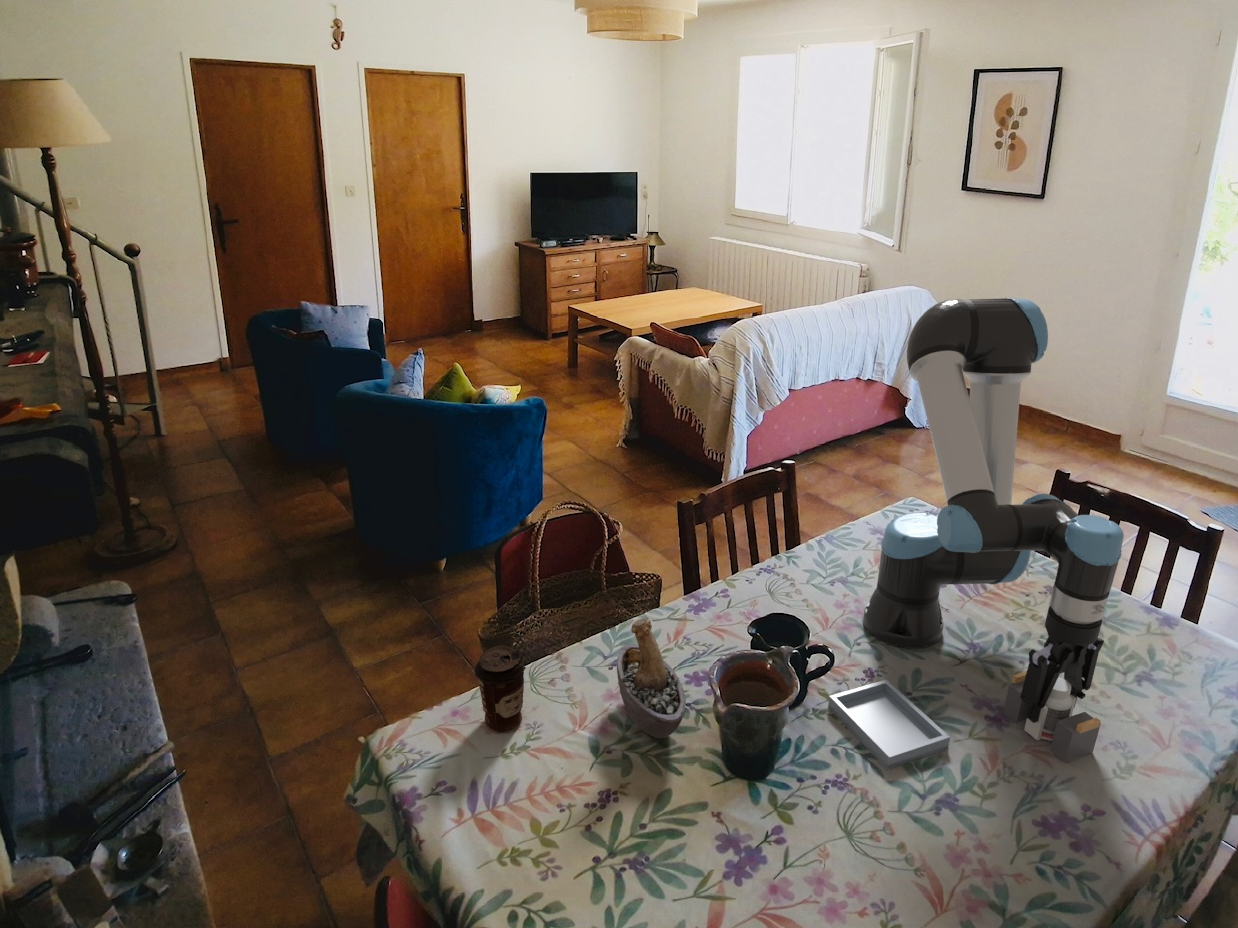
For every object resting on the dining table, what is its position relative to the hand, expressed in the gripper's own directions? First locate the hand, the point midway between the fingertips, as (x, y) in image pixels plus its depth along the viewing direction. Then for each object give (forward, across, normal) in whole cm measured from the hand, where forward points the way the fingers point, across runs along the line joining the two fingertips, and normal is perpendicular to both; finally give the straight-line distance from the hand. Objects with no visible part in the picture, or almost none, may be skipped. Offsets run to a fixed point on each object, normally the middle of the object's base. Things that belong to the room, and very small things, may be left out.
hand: (1046, 729), depth 141 cm
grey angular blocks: (0, 0, 0) cm, 0 cm away
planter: (+1, -60, +28) cm, 66 cm away
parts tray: (0, -24, +11) cm, 26 cm away
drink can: (+1, -83, +37) cm, 91 cm away
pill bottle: (0, 0, 0) cm, 0 cm away
